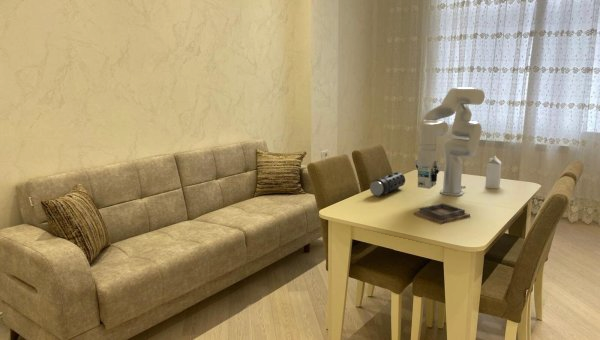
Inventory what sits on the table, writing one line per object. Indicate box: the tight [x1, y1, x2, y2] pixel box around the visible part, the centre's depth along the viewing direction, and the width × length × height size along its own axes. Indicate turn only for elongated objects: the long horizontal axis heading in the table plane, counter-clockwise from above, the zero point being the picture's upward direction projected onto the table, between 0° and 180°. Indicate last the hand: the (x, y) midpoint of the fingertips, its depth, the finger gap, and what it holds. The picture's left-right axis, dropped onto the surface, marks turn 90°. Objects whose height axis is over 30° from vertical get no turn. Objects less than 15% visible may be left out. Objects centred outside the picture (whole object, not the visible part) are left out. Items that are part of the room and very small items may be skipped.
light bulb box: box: [417, 166, 437, 189], centre depth 227 cm, size 11×7×11 cm, turn 146°
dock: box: [413, 203, 471, 225], centre depth 210 cm, size 20×17×4 cm
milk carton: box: [484, 155, 503, 189], centre depth 263 cm, size 7×7×19 cm
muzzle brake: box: [369, 171, 406, 197], centre depth 252 cm, size 10×28×10 cm, turn 142°
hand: (427, 179), depth 227 cm, fingers closed on light bulb box, 8 cm apart
